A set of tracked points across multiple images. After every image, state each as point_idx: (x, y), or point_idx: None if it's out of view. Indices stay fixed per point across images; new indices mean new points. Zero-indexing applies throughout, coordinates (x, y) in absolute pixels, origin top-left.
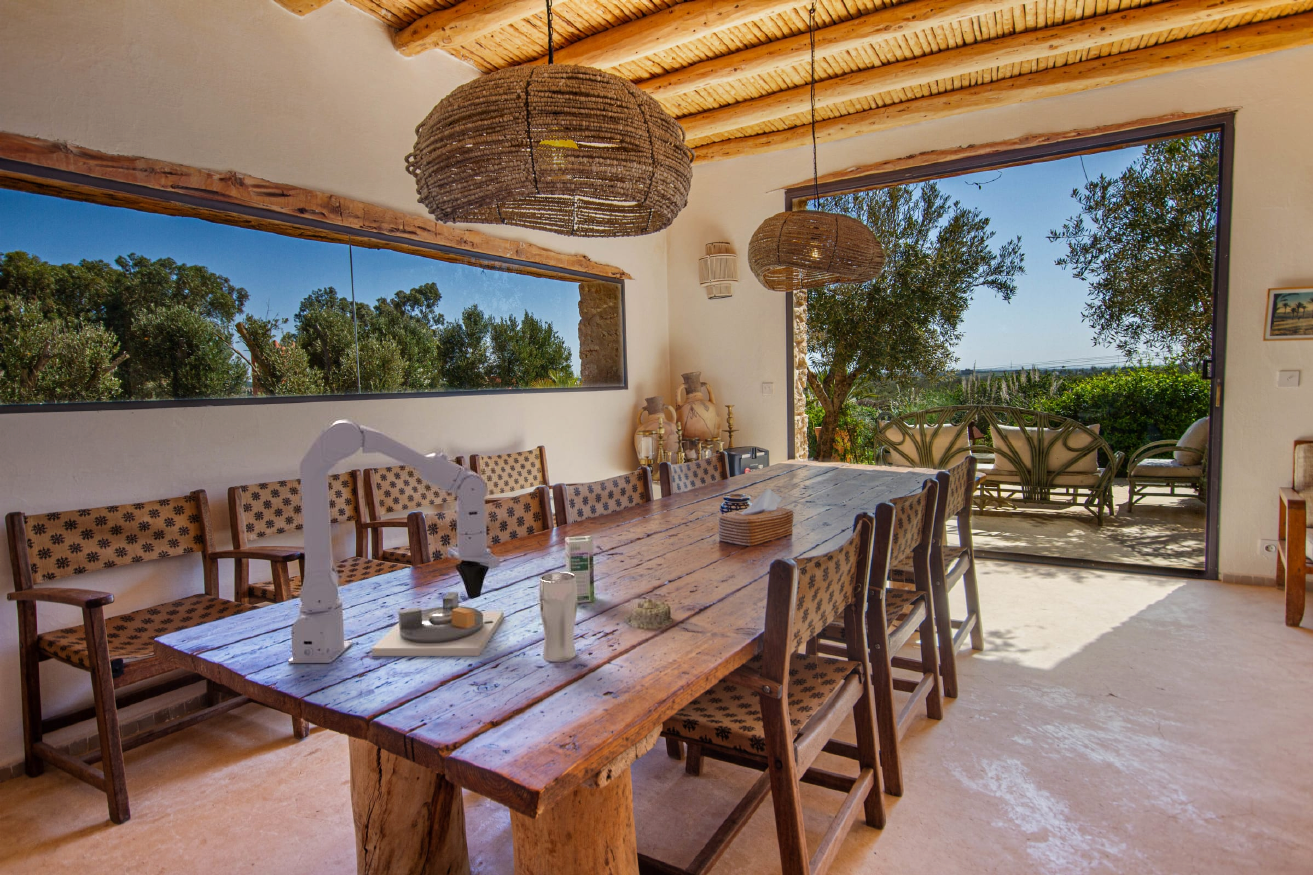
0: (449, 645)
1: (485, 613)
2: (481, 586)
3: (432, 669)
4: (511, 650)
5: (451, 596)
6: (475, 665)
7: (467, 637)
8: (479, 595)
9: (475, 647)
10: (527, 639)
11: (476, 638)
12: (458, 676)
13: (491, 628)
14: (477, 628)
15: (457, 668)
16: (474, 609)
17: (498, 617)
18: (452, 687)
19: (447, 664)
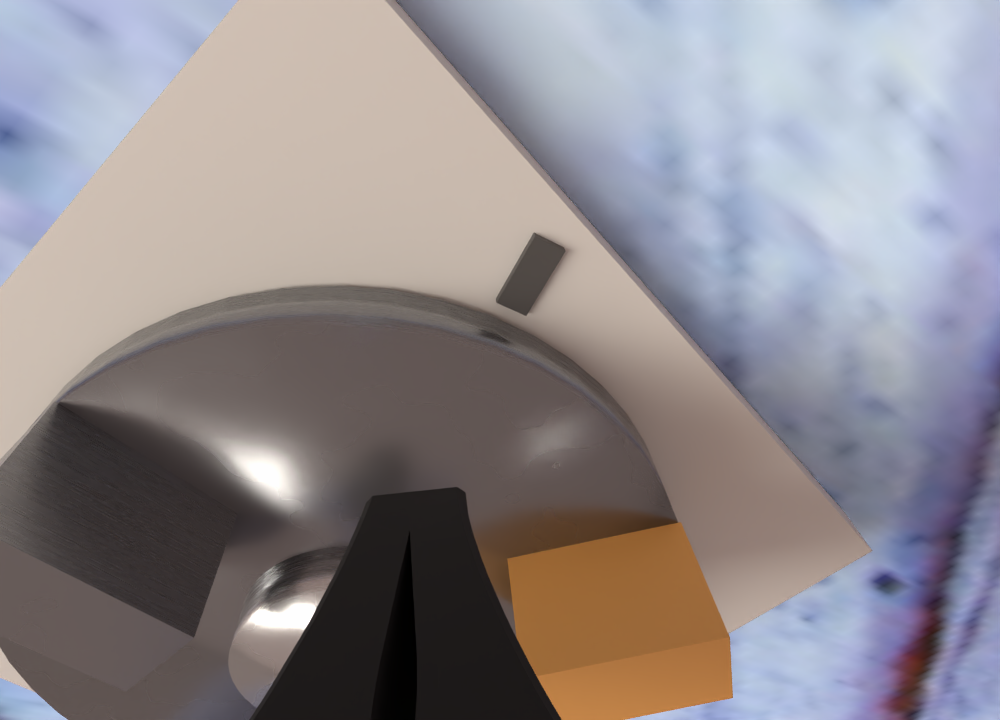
0: None
1: (245, 144)
2: (493, 595)
3: (752, 692)
4: (989, 348)
5: (105, 619)
6: (916, 570)
7: None
8: (464, 505)
9: (845, 558)
10: (987, 138)
11: (734, 495)
12: (922, 654)
13: (675, 332)
14: (652, 461)
15: (853, 630)
16: (289, 341)
17: (478, 117)
18: (971, 698)
19: (771, 641)
